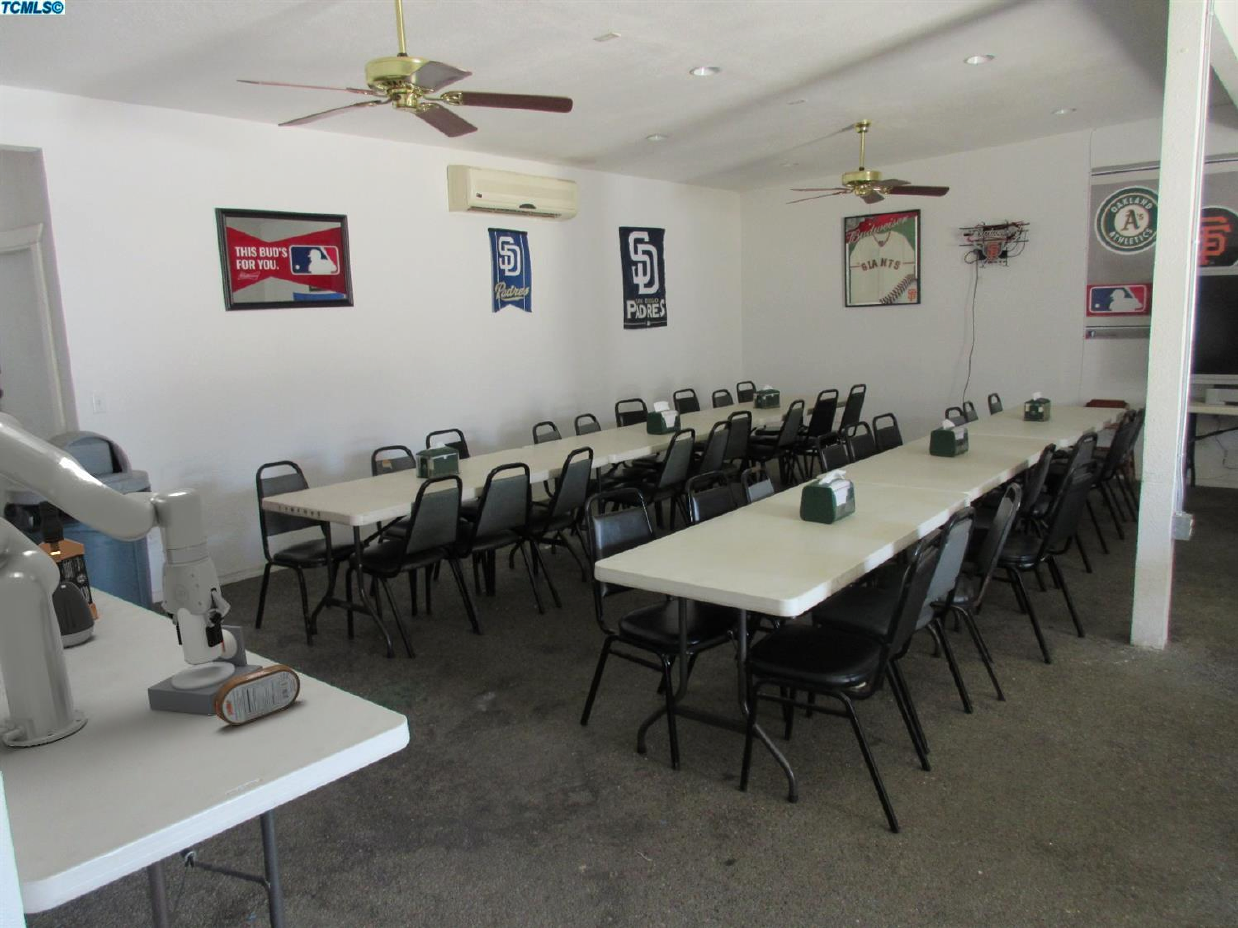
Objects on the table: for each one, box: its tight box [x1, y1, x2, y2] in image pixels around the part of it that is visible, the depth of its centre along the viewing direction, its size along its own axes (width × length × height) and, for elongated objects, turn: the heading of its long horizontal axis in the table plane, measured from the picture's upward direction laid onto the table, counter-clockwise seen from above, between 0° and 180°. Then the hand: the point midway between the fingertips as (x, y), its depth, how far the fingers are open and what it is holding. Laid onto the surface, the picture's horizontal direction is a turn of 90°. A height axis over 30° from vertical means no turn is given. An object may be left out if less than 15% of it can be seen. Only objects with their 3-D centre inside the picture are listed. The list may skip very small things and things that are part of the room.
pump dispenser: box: [52, 581, 96, 648], centre depth 202 cm, size 10×10×15 cm
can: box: [177, 604, 221, 666], centre depth 165 cm, size 6×6×12 cm
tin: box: [213, 663, 301, 726], centre depth 156 cm, size 15×3×8 cm, turn 135°
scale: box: [147, 624, 264, 716], centre depth 166 cm, size 14×15×12 cm
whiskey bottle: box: [37, 500, 99, 620], centre depth 216 cm, size 10×10×32 cm
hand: (201, 642), depth 165 cm, fingers closed on can, 6 cm apart
